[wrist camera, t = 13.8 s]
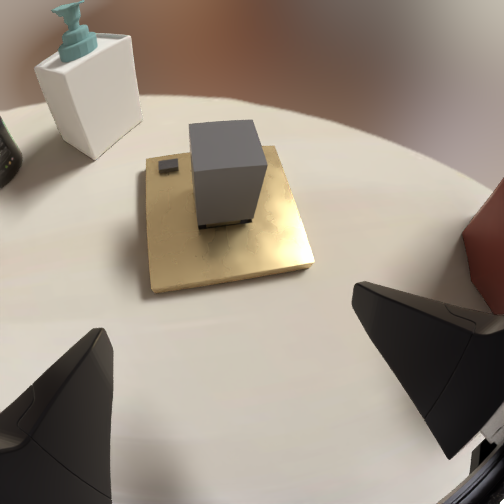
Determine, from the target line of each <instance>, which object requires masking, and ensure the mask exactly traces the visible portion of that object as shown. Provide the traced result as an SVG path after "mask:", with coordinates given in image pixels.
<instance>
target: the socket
mask: <svg viewBox="0 0 504 504" xmlns="http://www.w3.org/2000/svg"><path fill="white" fill-rule="evenodd" d="M262 149H263V152H264V155H265V158H266V161H267V164H268V166H267V170H266V174H265V177H264V181H263V185H262V188H261V192H260V196H259V199H258V203H257V207H256V211H255V214H254V218H253V219H245V220H241V222H240V223H236V224H229V225H221V226H213V227H206V225H199V226H198V223H197V216H196V208H195V200H194V192H193V183H192V171H191V156H190V153H182V154H174V155H168V156H161V157H155V158H149V159H146V223H147V244H148V259H149V271H150V282H151V289H152V290H153V292H154V293H161V292H168V291H175V290H182V289H188V288H195V287H201V286H207V285H214V284H220V283H226V282H232V281H238V280H244V279H250V278H256V277H262V276H267V275H273V274H279V273H284V272H290V271H295V270H301V269H306V268H310V267H311V265H312V264H313V263H314V258H313V255H312V252H311V249H310V246H309V243H308V239H307V236H306V233H305V230H304V227H303V224H302V221H301V218H300V215H299V212H298V209H297V206H296V204H295V201H294V198H293V195H292V192H291V189H290V187H289V184H288V181H287V178H286V175H285V173H284V170H283V167H282V165H281V162H280V159H279V157H278V154H277V151H276V149H275V146H262Z"/></svg>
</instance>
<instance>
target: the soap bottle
mask: <svg viewBox="0 0 504 504" xmlns="http://www.w3.org/2000/svg"><path fill="white" fill-rule="evenodd" d="M83 2H84V0H82V1H80V2H77V3H71V4H66V5H61V6H59V7H57V8H55V9H53V10H51V11H52V12H53V13H56V14H57V15H58V16H59V17H61V16H63V17H64V22H65V23H66V24H67V25H68V28H69V31H67V32H65V33H64V34H63V36H62V40H63V44H62V45H61V46H60V47H59V49H58V52H56V53H55V54H53V55H52V56H50V57H49V58H47V59H45V60H44V61H43V62H41V63H40V64H38V65H37V66H36V67H34V69H35V73H36V76H37V78H38V81H39V83H40V86H41V89H42V91H43V94H44V97H45V99H46V102H47V104H48V107H49V109H50V111H51V114H52V116H53V118H54V121H55V123H56V125H57V127H58V130H59V132H60V134H61V136H62V138H63V140H64V141H66V142H67V143H69V144H70V145H72V146H73V147H75V148H76V149H78V150H80V151H81V152H83V153H84V154H86V155H87V156H89V157H90V158H92V159H93V160H97V159H98V158H99V157H100V156H101V155H102V154H103V153H104V152H105V151H106V150H108V149H109V148H110V147H111V146H112V145H113V144H114V143H116V142H117V141H118V140H119V139H120V138H122V137H123V136H124V135H125V134H126V133H128V132H129V131H130V130H131V129H133V128H134V127H135V126H136V125H138V124H139V123H140V122H142V121H143V115H142V109H141V104H140V98H139V92H138V86H137V80H136V73H135V66H134V58H133V51H132V42H131V36H129V35H118V34H117V35H116V34H102V33H94V32H89V31H88V26H87V25H80V26H79V22H78V21H79V18H80V9H79V4H80V3H83Z"/></svg>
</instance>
